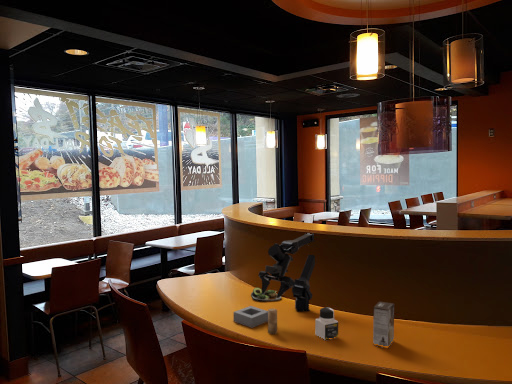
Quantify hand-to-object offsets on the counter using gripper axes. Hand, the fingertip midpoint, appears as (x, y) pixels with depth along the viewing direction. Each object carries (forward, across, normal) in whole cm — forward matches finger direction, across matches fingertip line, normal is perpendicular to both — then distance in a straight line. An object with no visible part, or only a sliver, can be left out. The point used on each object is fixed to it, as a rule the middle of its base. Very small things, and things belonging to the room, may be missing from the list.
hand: (269, 295), depth 184 cm
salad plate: (-5, -28, +32) cm, 43 cm away
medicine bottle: (+8, +27, +12) cm, 31 cm away
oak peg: (+15, +8, +2) cm, 17 cm away
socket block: (+13, -9, +5) cm, 16 cm away
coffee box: (+2, +49, +20) cm, 53 cm away
